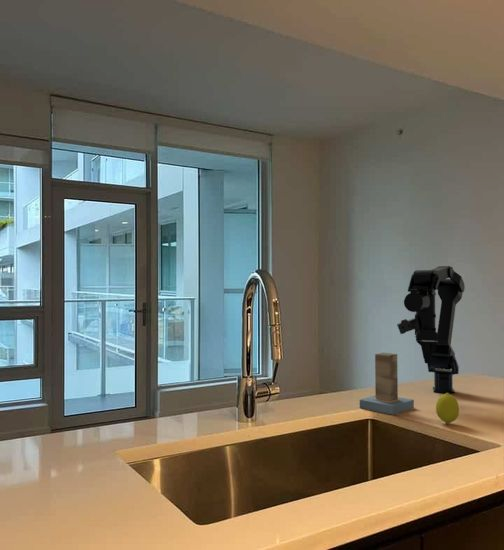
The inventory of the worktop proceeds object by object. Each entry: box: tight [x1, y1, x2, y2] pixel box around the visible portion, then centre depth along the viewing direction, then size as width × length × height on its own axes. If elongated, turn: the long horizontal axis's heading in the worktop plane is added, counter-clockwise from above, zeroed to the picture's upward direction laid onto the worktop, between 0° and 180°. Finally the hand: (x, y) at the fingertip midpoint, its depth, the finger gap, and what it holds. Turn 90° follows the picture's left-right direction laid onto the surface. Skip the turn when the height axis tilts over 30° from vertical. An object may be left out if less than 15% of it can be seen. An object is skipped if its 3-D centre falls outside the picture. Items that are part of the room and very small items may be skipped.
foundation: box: [359, 394, 415, 416], centre depth 150 cm, size 11×11×3 cm
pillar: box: [374, 352, 399, 401], centre depth 150 cm, size 4×4×13 cm
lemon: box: [435, 393, 460, 425], centre depth 132 cm, size 6×6×8 cm
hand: (426, 361), depth 159 cm, fingers open, 9 cm apart
